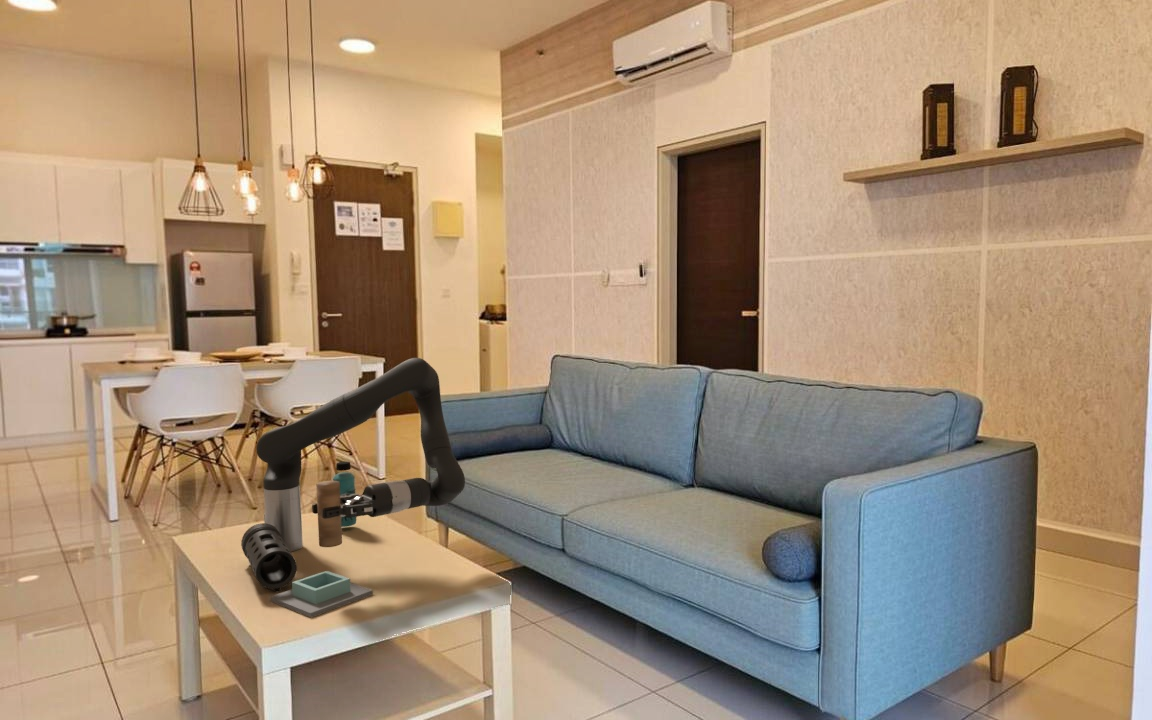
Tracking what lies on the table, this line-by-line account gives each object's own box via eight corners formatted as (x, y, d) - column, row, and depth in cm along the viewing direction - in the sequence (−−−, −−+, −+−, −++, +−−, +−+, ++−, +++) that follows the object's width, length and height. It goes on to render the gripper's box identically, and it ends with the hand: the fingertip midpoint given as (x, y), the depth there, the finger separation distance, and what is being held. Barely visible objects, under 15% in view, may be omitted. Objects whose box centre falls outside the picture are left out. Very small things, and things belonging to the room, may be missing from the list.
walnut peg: (314, 544, 176) (311, 484, 175) (333, 539, 180) (330, 479, 179) (327, 548, 173) (324, 486, 172) (346, 542, 177) (344, 482, 176)
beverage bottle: (330, 531, 227) (327, 464, 225) (340, 525, 233) (337, 459, 232) (351, 532, 226) (348, 464, 224) (361, 525, 232) (358, 459, 231)
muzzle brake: (255, 598, 177) (253, 553, 176) (241, 563, 201) (239, 524, 200) (299, 589, 181) (297, 546, 180) (280, 556, 206) (278, 518, 205)
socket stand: (269, 601, 174) (269, 583, 174) (331, 580, 187) (330, 563, 186) (310, 617, 164) (309, 599, 164) (372, 594, 177) (372, 577, 176)
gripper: (373, 477, 190) (304, 489, 179) (400, 487, 179) (329, 501, 168) (374, 507, 191) (306, 521, 180) (401, 519, 180) (331, 534, 169)
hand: (317, 511), depth 174 cm, fingers closed on walnut peg, 5 cm apart
